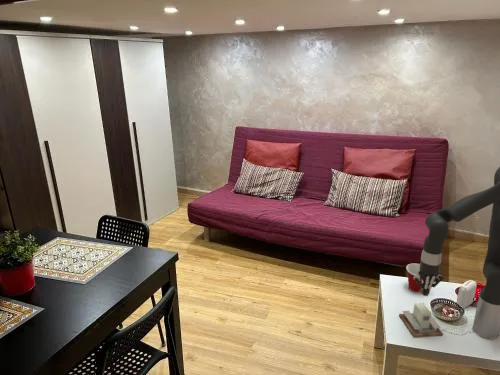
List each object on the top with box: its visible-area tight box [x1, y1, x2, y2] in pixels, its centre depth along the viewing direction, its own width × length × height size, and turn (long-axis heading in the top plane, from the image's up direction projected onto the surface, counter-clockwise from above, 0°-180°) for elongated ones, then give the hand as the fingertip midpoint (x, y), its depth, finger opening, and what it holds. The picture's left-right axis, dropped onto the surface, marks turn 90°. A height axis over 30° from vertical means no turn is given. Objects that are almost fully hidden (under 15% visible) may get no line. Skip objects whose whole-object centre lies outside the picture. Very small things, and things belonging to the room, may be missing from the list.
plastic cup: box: [405, 262, 422, 292], centre depth 188 cm, size 11×11×12 cm
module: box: [412, 302, 432, 328], centre depth 162 cm, size 4×8×8 cm, turn 3°
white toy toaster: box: [455, 279, 478, 309], centre depth 175 cm, size 10×4×12 cm, turn 123°
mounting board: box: [398, 312, 444, 338], centre depth 164 cm, size 13×14×1 cm
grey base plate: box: [402, 310, 442, 333], centre depth 163 cm, size 12×12×2 cm
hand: (425, 294), depth 158 cm, fingers closed
